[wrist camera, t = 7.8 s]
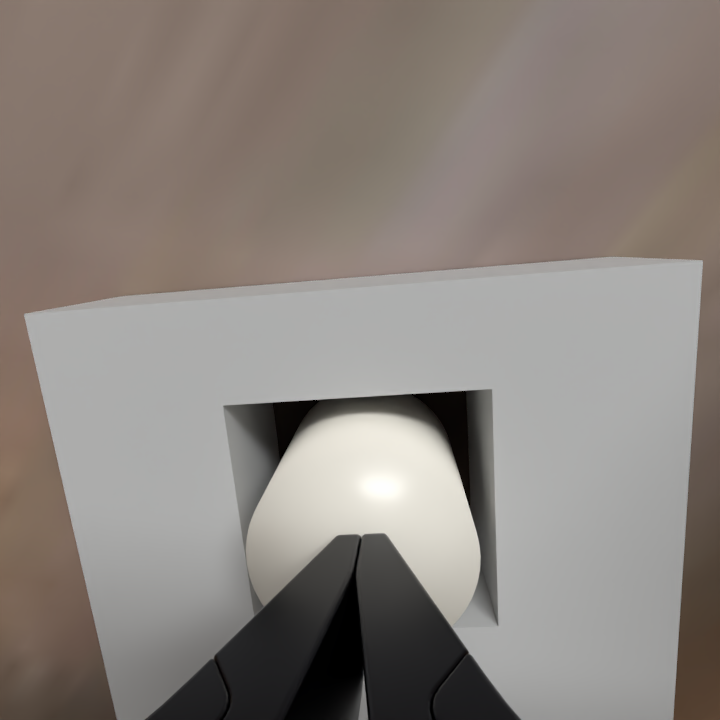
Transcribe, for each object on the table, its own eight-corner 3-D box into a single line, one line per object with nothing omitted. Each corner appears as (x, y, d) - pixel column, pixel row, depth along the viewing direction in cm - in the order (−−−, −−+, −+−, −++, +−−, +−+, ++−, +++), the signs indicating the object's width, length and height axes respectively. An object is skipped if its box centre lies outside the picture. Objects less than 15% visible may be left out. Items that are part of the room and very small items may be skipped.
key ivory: (448, 378, 12) (476, 444, 8) (455, 530, 13) (484, 657, 9) (282, 389, 12) (230, 457, 8) (300, 536, 13) (261, 661, 9)
